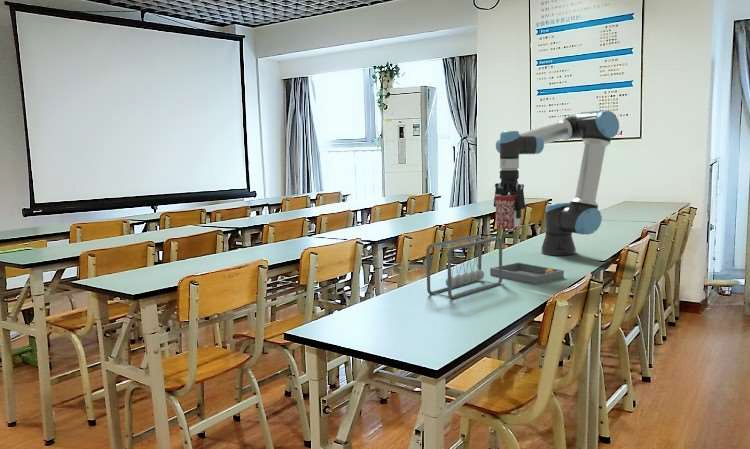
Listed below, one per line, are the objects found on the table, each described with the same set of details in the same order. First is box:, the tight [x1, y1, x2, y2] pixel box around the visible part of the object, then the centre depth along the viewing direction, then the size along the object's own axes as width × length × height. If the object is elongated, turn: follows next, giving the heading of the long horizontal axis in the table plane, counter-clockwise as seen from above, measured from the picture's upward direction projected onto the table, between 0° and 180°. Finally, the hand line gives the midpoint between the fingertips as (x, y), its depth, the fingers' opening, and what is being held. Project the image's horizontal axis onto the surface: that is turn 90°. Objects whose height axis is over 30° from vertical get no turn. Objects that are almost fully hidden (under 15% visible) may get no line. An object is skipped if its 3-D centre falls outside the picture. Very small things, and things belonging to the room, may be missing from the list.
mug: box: [494, 193, 517, 230], centre depth 243 cm, size 13×9×14 cm
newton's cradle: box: [425, 234, 503, 300], centre depth 210 cm, size 30×10×18 cm, turn 133°
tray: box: [489, 262, 565, 285], centre depth 226 cm, size 16×22×3 cm
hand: (508, 225), depth 243 cm, fingers closed on mug, 8 cm apart
